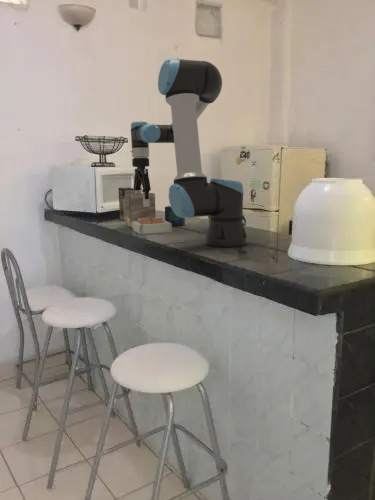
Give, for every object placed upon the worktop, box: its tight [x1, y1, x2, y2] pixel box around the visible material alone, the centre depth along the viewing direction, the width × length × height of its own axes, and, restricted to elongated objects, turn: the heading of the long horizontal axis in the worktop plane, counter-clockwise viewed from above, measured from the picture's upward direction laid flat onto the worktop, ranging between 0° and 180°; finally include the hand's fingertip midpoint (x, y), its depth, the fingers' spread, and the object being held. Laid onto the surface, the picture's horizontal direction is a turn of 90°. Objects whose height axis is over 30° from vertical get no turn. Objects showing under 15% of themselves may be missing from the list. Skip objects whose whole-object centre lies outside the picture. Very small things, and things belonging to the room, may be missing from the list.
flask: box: [164, 204, 186, 227], centre depth 212 cm, size 9×3×11 cm, turn 87°
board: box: [124, 218, 151, 229], centre depth 211 cm, size 20×11×3 cm, turn 21°
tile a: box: [151, 216, 164, 224], centre depth 199 cm, size 5×4×3 cm
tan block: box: [129, 192, 157, 222], centre depth 209 cm, size 4×11×12 cm, turn 111°
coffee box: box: [117, 187, 135, 222], centre depth 233 cm, size 9×6×16 cm
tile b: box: [138, 218, 150, 225], centre depth 197 cm, size 5×4×3 cm
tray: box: [132, 219, 173, 236], centre depth 196 cm, size 12×14×4 cm
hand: (142, 205), depth 208 cm, fingers open, 13 cm apart
